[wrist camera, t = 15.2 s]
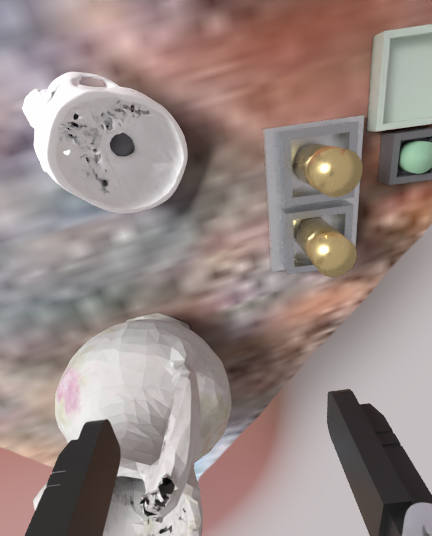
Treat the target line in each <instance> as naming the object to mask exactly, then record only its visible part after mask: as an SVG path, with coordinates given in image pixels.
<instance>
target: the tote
mask: <svg viewBox="0 0 432 536" xmlns="http://www.w3.org/2000/svg"><path fill="white" fill-rule="evenodd" d="M428 124H432V24H428V25H421V26H415V27H408V28H401V29H394V30H388V31H383V32H381V33H379V34H377V35H375V36H374V37H373V48H372V62H371V76H370V90H369V105H368V119H367V131H374V132H377V131H384V130H391V129H399V128H406V127H413V126H420V125H428Z"/></svg>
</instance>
